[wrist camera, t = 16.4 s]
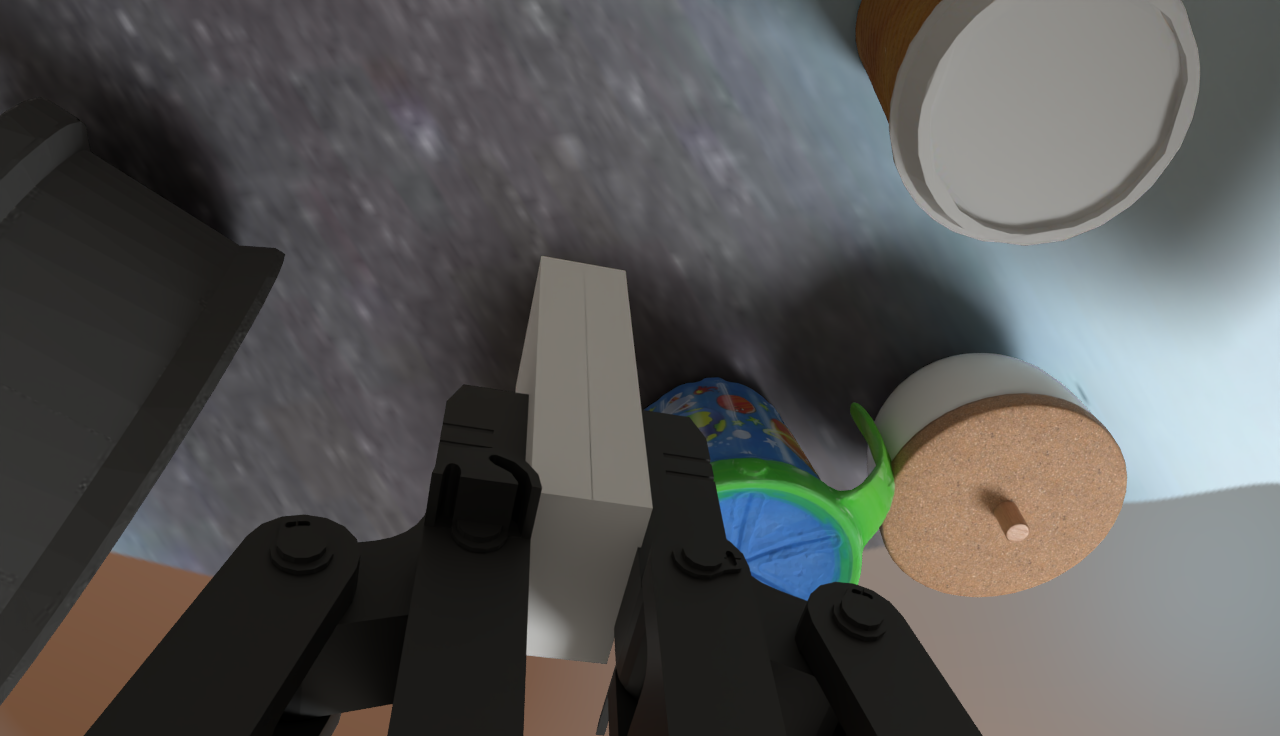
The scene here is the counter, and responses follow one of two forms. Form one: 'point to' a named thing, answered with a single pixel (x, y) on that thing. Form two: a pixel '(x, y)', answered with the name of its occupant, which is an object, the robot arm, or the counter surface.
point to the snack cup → (783, 488)
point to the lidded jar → (994, 476)
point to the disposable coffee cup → (1030, 107)
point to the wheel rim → (96, 358)
